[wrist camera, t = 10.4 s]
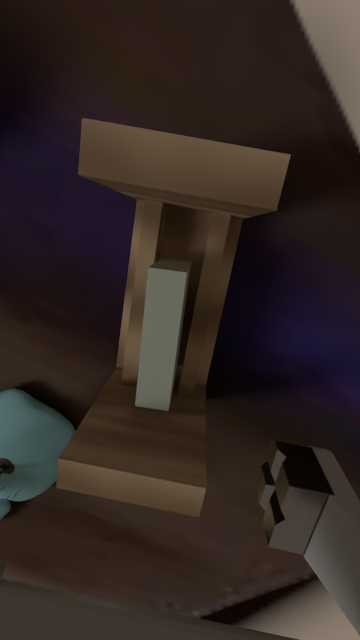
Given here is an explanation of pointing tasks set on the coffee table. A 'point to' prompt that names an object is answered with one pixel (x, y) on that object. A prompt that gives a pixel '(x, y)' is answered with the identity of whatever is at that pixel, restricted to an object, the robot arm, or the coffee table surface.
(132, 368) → the wooden stand
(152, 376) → the door panel
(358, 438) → the coffee table surface
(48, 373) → the coffee table surface
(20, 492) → the penguin figurine
